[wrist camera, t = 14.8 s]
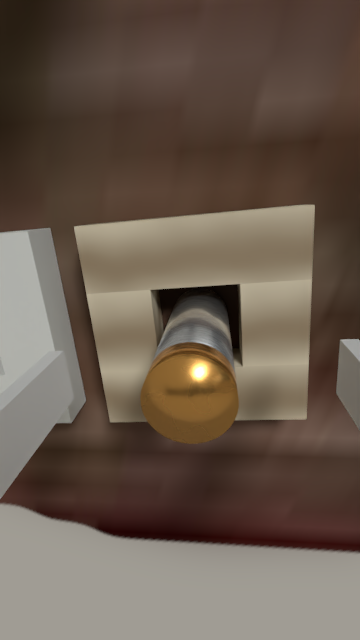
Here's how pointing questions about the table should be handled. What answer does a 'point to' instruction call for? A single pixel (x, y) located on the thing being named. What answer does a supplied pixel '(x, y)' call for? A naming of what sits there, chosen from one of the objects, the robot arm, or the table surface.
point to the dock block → (196, 271)
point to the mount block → (34, 311)
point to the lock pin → (193, 372)
